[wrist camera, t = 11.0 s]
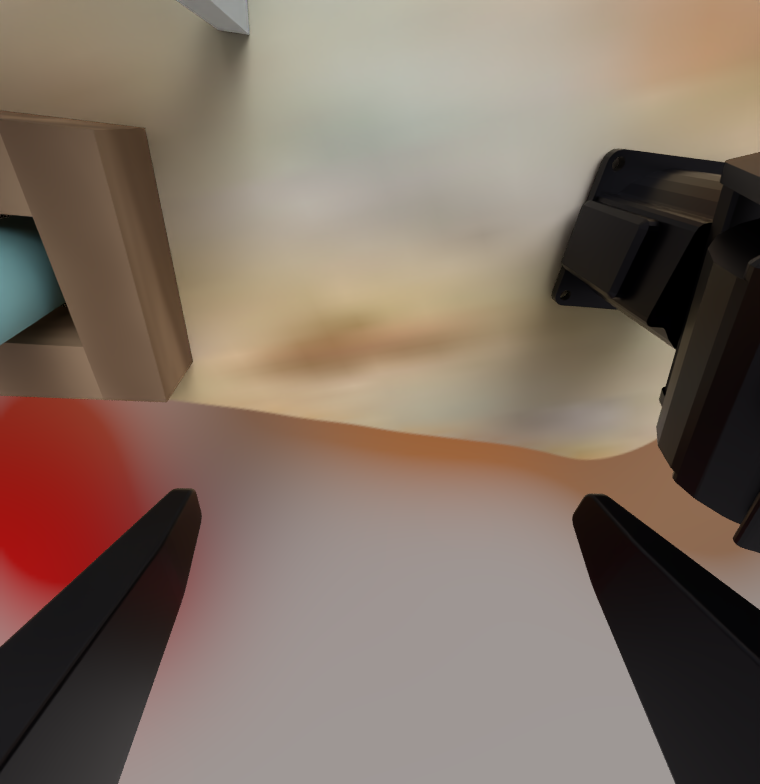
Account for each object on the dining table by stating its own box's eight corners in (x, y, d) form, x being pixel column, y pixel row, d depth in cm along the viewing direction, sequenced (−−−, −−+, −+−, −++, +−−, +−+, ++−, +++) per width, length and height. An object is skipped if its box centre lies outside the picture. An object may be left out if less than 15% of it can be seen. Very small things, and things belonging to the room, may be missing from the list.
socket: (144, 128, 14) (93, 130, 11) (192, 361, 20) (166, 402, 17) (-173, 90, 13) (-321, 81, 10) (-23, 350, 18) (-90, 392, 16)
